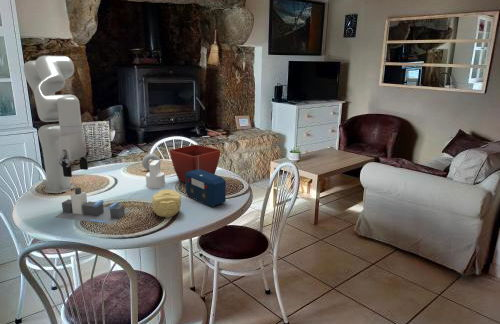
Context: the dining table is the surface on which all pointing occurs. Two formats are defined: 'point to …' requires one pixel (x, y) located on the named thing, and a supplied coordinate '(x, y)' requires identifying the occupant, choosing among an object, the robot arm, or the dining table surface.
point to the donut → (146, 160)
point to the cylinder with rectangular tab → (155, 176)
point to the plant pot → (194, 159)
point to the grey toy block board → (94, 212)
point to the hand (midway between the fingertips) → (76, 172)
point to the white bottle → (78, 201)
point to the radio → (205, 187)
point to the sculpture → (166, 203)
